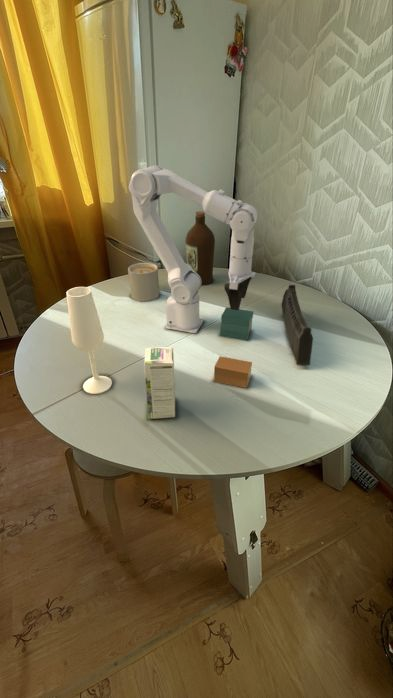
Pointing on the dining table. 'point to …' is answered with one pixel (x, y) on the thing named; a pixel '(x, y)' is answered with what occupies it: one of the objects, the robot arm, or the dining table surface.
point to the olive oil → (200, 248)
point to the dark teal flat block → (237, 317)
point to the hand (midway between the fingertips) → (237, 303)
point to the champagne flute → (87, 333)
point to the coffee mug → (144, 281)
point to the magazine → (296, 328)
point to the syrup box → (160, 382)
